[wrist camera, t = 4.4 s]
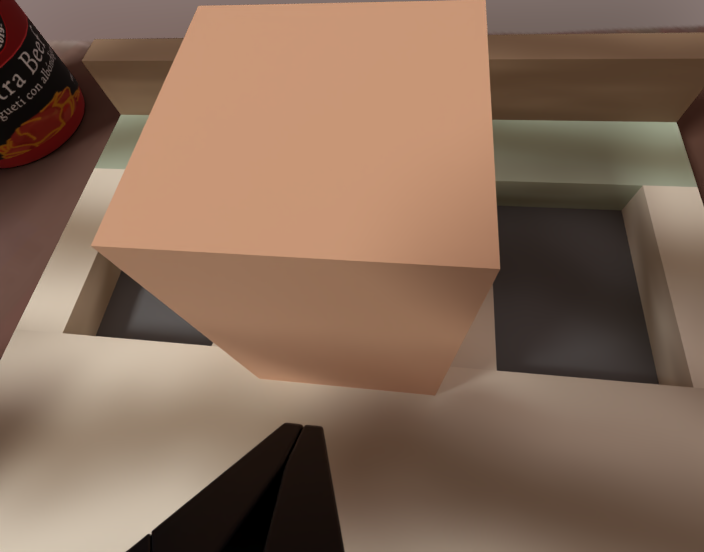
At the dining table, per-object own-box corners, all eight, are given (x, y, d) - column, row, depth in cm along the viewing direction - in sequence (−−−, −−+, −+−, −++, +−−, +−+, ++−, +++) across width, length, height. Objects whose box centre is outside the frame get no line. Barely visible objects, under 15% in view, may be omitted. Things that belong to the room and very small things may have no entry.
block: (435, 395, 14) (499, 269, 6) (259, 378, 14) (90, 245, 6) (438, 239, 16) (485, -1, 8) (289, 232, 17) (198, 5, 9)
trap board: (788, 663, 11) (1042, 778, 7) (-31, 534, 15) (-214, 557, 10) (643, 131, 20) (715, 32, 16) (150, 123, 23) (94, 39, 19)
